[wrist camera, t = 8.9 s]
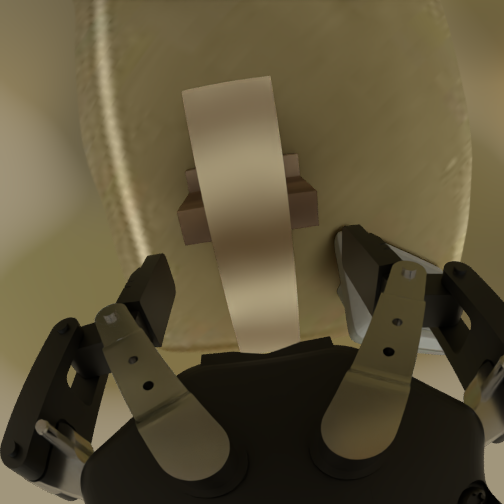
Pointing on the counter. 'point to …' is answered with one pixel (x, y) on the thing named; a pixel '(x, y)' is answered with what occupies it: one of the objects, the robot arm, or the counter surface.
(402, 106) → the counter surface
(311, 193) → the walnut ridge
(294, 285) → the beige long bar
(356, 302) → the digital clock
